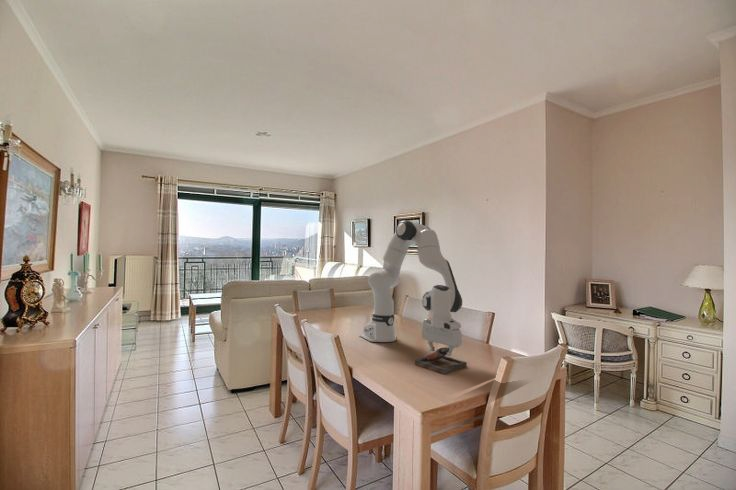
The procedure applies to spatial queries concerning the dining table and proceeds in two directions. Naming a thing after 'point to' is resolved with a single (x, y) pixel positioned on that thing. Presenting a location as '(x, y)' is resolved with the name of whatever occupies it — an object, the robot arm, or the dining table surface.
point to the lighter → (437, 354)
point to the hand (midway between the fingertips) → (440, 353)
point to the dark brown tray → (441, 364)
